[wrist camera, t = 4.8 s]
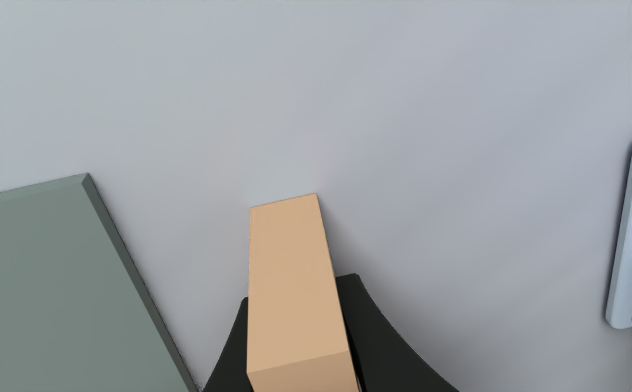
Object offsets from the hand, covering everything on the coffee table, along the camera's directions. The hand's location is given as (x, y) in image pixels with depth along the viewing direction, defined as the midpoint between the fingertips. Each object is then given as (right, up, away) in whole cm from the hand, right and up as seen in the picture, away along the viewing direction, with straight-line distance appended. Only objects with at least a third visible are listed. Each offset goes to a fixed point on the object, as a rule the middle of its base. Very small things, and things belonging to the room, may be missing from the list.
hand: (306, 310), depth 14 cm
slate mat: (-8, -4, +4) cm, 10 cm away
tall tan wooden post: (0, -2, +4) cm, 4 cm away
